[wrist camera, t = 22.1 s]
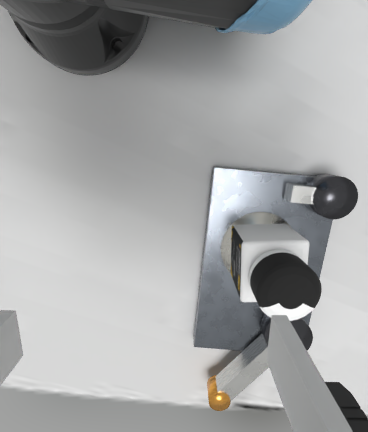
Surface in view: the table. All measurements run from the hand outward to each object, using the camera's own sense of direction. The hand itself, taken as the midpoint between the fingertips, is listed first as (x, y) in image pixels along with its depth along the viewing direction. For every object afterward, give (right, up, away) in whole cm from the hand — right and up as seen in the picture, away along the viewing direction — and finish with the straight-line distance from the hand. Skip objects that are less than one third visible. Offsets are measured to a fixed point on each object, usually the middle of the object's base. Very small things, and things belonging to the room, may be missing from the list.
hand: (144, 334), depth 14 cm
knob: (+18, +9, +21) cm, 29 cm away
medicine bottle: (+12, +2, +23) cm, 26 cm away
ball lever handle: (+12, -14, +26) cm, 32 cm away
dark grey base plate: (+13, -1, +25) cm, 28 cm away
